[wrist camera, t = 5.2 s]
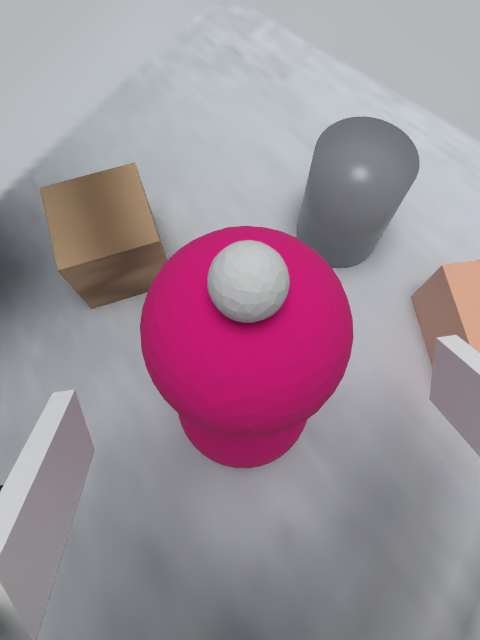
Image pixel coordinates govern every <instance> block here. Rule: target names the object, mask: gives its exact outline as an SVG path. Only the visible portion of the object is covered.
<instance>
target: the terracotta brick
mask: <svg viewBox="0 0 480 640" xmlns="http://www.w3.org/2000/svg"><path fill="white" fill-rule="evenodd" d="M411 298H412V301H413V304H414V308H415V311H416V314H417V318H418V321H419V324H420V327H421V331H422V334H423V337H424V340H425V344H426V347H427V350H428V353H429V357H430V360H431V363H432V366H433V362H434V353H435V343H436V338H437V337H444V336H451V335H457V336H459V337H460V338H461V339H462V340H464V341H465V342H466V343H468V344H469V345H470V346H471V347H473V348H474V349H475V350H477V351H478V352H479V353H480V260H477V261H469V262H462V263H454V264H446V265H442V266H441V267H440V268H439V269H438V270H437V271H436V272H435V273H434V274H433V275H432V276H431V277H430V278H429V279H428V280H427V281H426V282H425V283H424V284H423V285H422V286H421V287H420V289H419V290H418V291H417V292H416V293H415V294H414V295H413V296H412V297H411Z"/></svg>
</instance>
